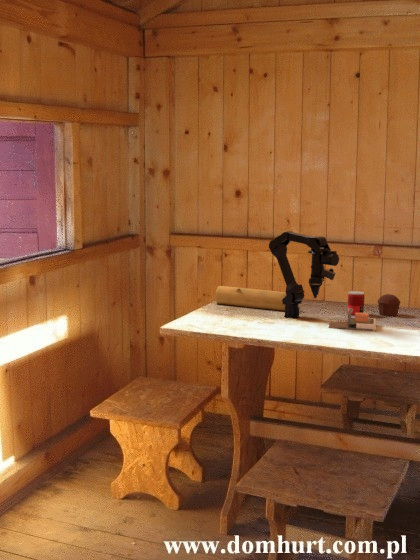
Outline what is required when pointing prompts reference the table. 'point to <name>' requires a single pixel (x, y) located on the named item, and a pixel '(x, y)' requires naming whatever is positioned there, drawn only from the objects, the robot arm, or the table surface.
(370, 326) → the dock
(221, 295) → the log
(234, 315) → the table surface
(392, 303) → the muffin
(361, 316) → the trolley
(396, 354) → the table surface
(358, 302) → the canned food
